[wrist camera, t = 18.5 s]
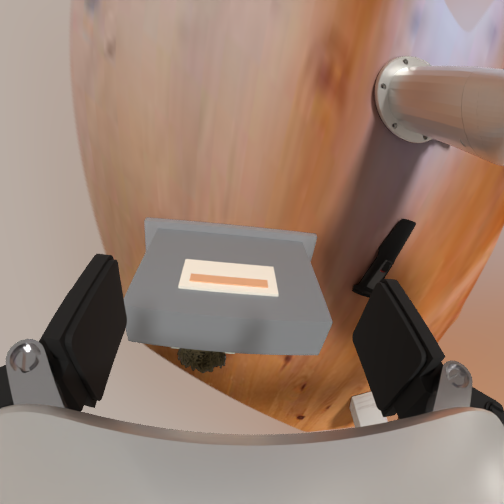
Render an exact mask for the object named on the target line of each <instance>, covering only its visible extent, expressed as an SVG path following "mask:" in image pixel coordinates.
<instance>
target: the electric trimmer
mask: <svg viewBox="0 0 504 504" xmlns="http://www.w3.org/2000/svg"><path fill="white" fill-rule="evenodd" d="M415 225H416V223H415V222H413V221H410V220H407V219H401V220H400V222H399V223H398V224H397V226H396V227H395V228H394V229H393V231H392V232H391V233H390V235H389V236H388V237H387V238H386V240H385V241H384V242H383V244H382V245H381V246H380V248H379V252H378V257H377V258H376V260H375V261H374V263H373V264H372V266H371V267H370V269H369V270H368V272H367V273H366V275H365V276H364V278H363V279H362V280H361V282H360V283H359V285H354V286H353V287H354V289H353V290H352V291H353V292H355V293H357V294H360V295H362V296H365V297H369V298H370V296H371V294H372V292H373V289H374V287H375V285H376V284H377V283H378V282H380V280H381V279H384V278H385V276H386V275H387V273H388V272H389V270H390V268H391V267H392V265H393V263H394V261H395V259H396V257H397V256H398V254H399V253H400V251H401V249H402V248H403V246H404V244H405V242H406V241H407V239H408V237H409V236H410V234H411V232H412V230H413V229H414V227H415Z"/></svg>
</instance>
